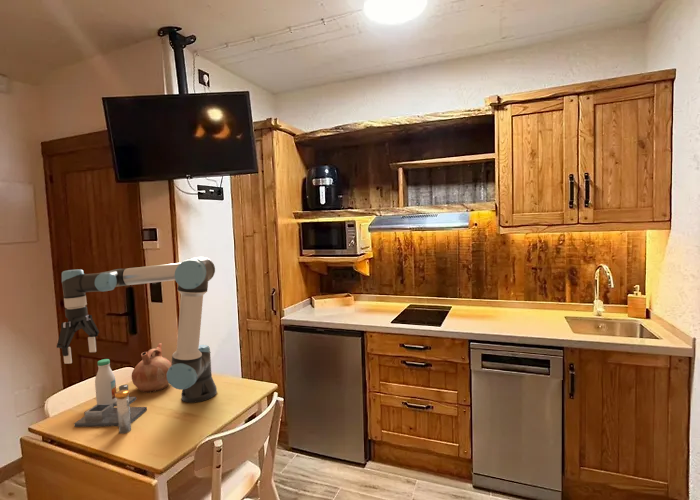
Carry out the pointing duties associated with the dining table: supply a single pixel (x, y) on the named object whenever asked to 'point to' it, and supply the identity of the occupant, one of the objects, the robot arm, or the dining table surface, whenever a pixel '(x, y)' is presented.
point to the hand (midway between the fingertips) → (81, 357)
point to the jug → (151, 371)
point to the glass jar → (123, 411)
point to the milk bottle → (105, 383)
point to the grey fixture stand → (108, 414)
